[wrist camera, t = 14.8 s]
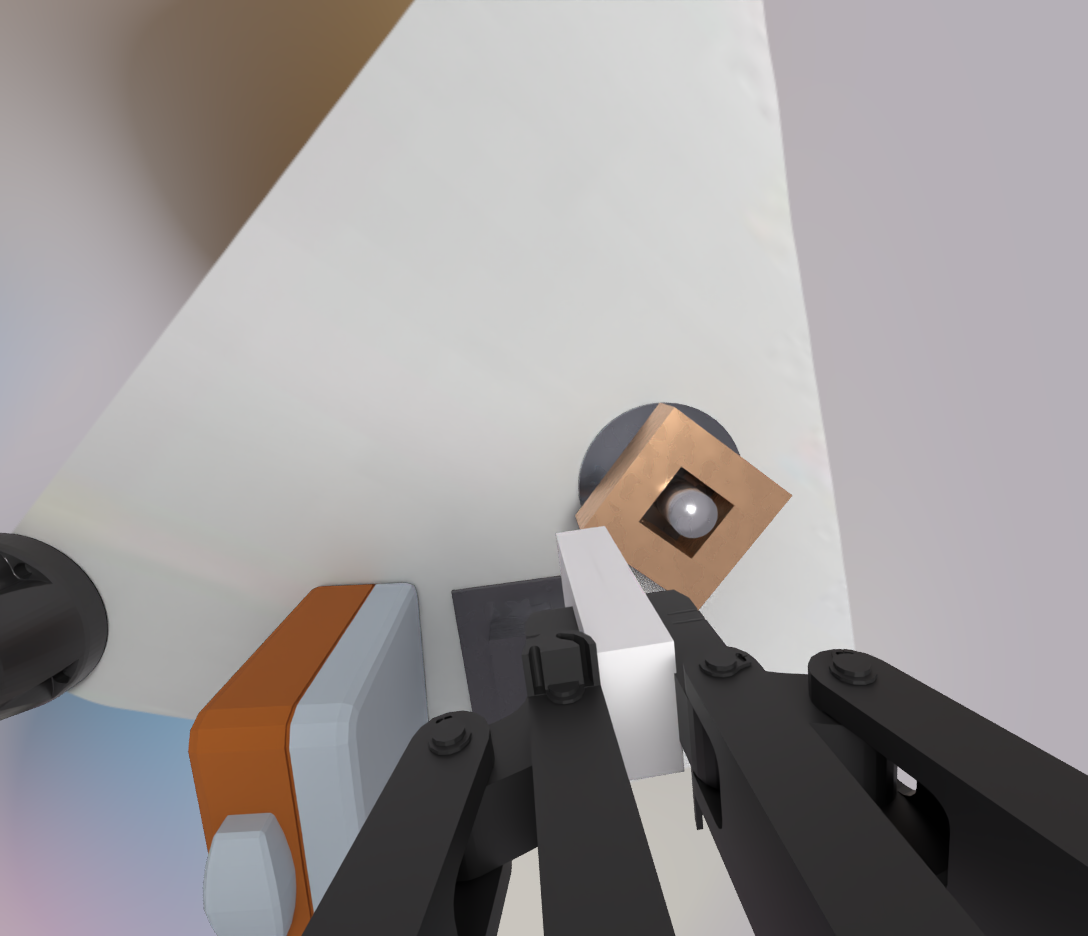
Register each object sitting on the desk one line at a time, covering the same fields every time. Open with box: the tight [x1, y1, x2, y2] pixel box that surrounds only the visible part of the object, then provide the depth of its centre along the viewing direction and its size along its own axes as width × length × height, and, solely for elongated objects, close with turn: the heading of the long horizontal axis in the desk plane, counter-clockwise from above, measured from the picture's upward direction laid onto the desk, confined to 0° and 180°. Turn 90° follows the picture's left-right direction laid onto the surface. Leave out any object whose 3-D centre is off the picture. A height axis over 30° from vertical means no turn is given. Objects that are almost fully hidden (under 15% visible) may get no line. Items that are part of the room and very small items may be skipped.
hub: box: [579, 402, 740, 540], centre depth 40 cm, size 14×14×9 cm
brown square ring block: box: [575, 403, 792, 610], centre depth 39 cm, size 11×11×4 cm
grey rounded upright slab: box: [188, 583, 428, 936], centre depth 37 cm, size 18×9×21 cm, turn 2°
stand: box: [452, 576, 565, 725], centre depth 43 cm, size 14×14×8 cm
